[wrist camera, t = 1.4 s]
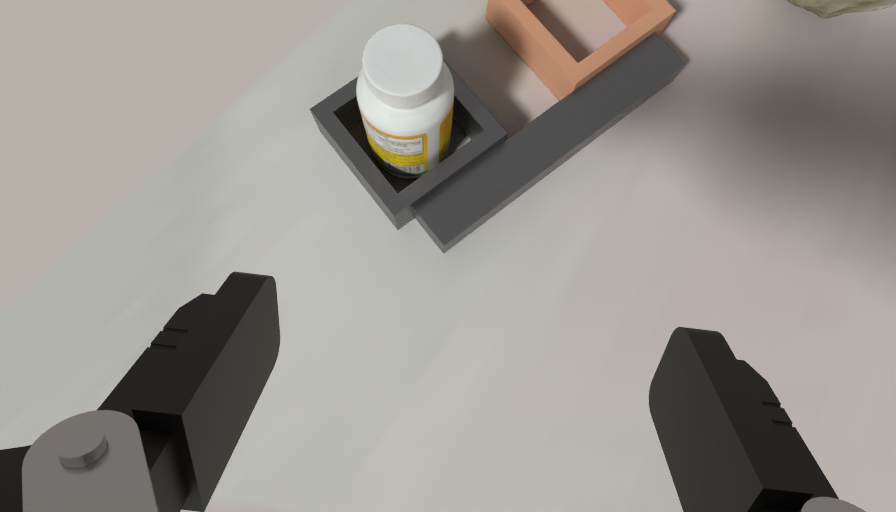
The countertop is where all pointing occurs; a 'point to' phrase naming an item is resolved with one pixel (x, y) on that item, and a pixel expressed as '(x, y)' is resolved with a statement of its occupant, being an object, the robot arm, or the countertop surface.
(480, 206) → the rail
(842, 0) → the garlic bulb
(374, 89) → the supplement bottle
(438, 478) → the countertop surface
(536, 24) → the marked socket
